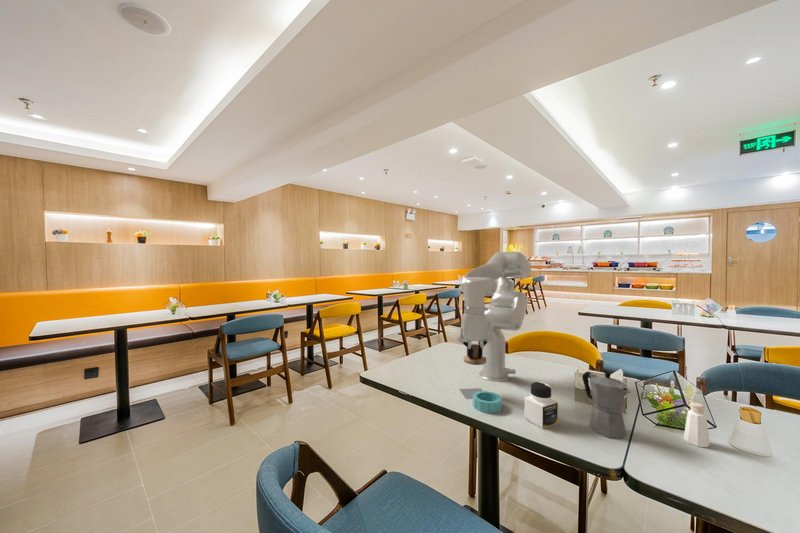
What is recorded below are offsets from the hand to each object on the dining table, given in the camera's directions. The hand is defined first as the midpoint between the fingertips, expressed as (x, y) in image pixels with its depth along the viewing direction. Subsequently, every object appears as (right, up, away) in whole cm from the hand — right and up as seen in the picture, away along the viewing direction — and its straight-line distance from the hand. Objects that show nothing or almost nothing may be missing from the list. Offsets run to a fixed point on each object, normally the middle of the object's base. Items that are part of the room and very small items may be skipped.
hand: (474, 357), depth 118 cm
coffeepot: (+34, -15, -24) cm, 44 cm away
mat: (-1, -14, 0) cm, 14 cm away
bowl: (+1, -14, -11) cm, 18 cm away
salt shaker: (+56, -15, -31) cm, 66 cm away
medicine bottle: (+16, -15, -20) cm, 30 cm away
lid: (0, -1, 0) cm, 1 cm away
